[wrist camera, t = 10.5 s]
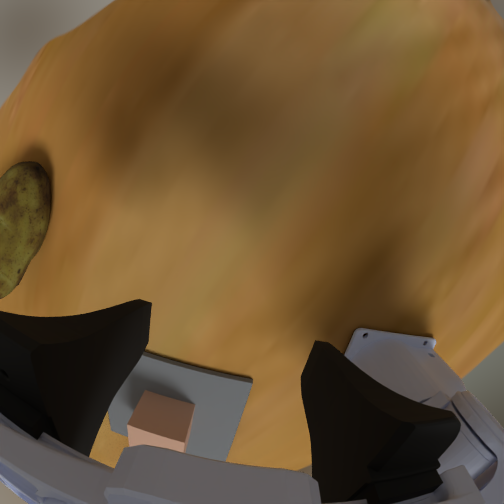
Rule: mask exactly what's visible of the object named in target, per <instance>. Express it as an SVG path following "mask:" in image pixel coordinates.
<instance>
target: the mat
mask: <svg viewBox="0 0 504 504" xmlns="http://www.w3.org/2000/svg"><path fill="white" fill-rule="evenodd" d="M252 384H253V379H249V378H243V377H238V376H234V375H229V374H224V373H220V372H216V371H211V370H207V369H203V368H199V367H195V366H191V365H188V364H184V363H180V362H177V361H173V360H170V359H166V358H163V357H160V356H157V355H153V354H150V353H147V352H143V354H142V356H141V358H140V360H139V361H138V363H137V364H136V366H135V367H134V369H133V370H132V372H131V373H130V374H129V376H128V377H127V379H126V380H125V382H124V383H123V384H122V386H121V387H120V389H119V390H118V392H117V393H116V395H115V397H114V398H113V400H112V402H111V405H110V407H109V409H108V413H109V419H110V426H111V430H112V431H114V432H116V433H119V434H121V435H124V436H127V437H128V429H127V423H128V421H129V420H130V418H131V416H132V414H133V412H134V410H135V408H136V406H137V404H138V402H139V400H140V398H141V397H142V395H143V393H144V391H145V390H147V391H150V392H153V393H156V394H160V395H163V396H166V397H169V398H173V399H176V400H180V401H184V402H187V403H191V404H195V409H194V415H193V421H192V426H191V432H190V437H189V440H188V444H187V448H186V452H185V453H187V454H191V455H195V456H199V457H204V458H209V459H214V460H219V461H224V462H225V461H226V458H227V455H228V453H229V450H230V447H231V444H232V442H233V439H234V436H235V433H236V431H237V428H238V425H239V422H240V419H241V416H242V413H243V410H244V407H245V405H246V402H247V399H248V396H249V393H250V390H251V387H252Z"/></svg>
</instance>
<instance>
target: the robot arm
mask: <svg viewBox="0 0 504 504" xmlns="http://www.w3.org/2000/svg"><path fill="white" fill-rule="evenodd" d="M151 306H152V303H151V302H147V301H144V300H141V299H137V300H133V301H129V302H126V303H123V304H119V305H116V306H113V307H110V308H106V309H102V310H98V311H94V312H90V313H86V314H80V315H73V316H62V317H35V316H25V315H18V314H13V313H8V312H3V311H0V481H1V482H2V483H3V484H5V485H6V486H7V487H8V488H10V490H12V491H13V492H14V493H15V494H17V495H18V496H19V497H20V498H22V499H23V500H24V501H25V502H27V503H28V504H504V429H503V427H502V426H501V425H500V424H499V422H497V420H496V419H495V418H494V417H493V415H492V414H491V413H490V412H489V411H488V410H487V409H486V408H485V406H484V405H483V404H482V403H481V402H480V401H479V400H478V399H477V398H476V397H475V396H474V395H473V394H472V393H471V392H469V391H466V389H465V385H464V383H463V382H462V380H461V379H460V377H459V376H458V375H457V374H456V373H455V372H454V371H453V370H452V369H451V368H450V367H449V366H448V365H447V364H446V363H445V362H444V360H443V359H442V358H441V357H440V356H439V355H438V354H437V353H436V352H435V351H434V350H433V348H434V346H435V344H436V340H435V339H434V338H430V337H422V336H414V335H406V334H399V333H391V332H385V331H378V330H371V329H365V328H358V329H356V330H355V331H354V333H353V336H352V338H351V341H350V343H349V345H348V348H347V350H346V352H345V354H344V355H343V354H342V353H341V352H340V351H339V350H337V349H336V348H335V347H334V346H332V345H331V344H330V343H328V342H322V341H316V340H315V342H314V345H313V348H312V350H311V353H310V355H309V358H308V360H307V363H306V365H305V367H304V370H303V372H302V375H301V393H302V400H303V404H304V409H305V414H306V419H307V423H308V428H309V433H310V440H311V454H312V477H311V476H310V475H308V474H306V473H304V472H298V471H293V470H288V469H282V468H269V467H259V466H251V465H243V464H237V463H230V462H224V461H219V460H214V459H209V458H204V457H199V456H195V455H191V454H187V453H183V452H179V451H175V450H172V449H168V448H162V447H157V446H151V445H146V444H144V445H137V446H132V447H126V448H124V449H123V452H122V454H121V456H120V458H119V460H118V462H117V464H116V467H115V469H114V468H112V467H109V466H107V465H105V464H102V463H100V462H98V461H96V460H94V459H92V458H89V455H90V452H91V449H92V446H93V444H94V441H95V438H96V436H97V433H98V431H99V428H100V426H101V424H102V422H103V419H104V417H105V415H106V413H107V411H108V409H109V407H110V405H111V402H112V400H113V398H114V397H115V395H116V393H117V392H118V390H119V389H120V387H121V386H122V384H123V383H124V382H125V380H126V379H127V377H128V376H129V374H130V373H131V372H132V370H133V369H134V367H135V366H136V364H137V363H138V361H139V360H140V358H141V356H142V354H143V352H144V350H145V348H146V346H147V344H148V342H149V328H150V317H151ZM365 333H367V334H366V335H365V336H363V334H365ZM424 342H425V343H424Z"/></svg>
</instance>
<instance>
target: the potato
mask: <svg viewBox="0 0 504 504" xmlns="http://www.w3.org/2000/svg"><path fill="white" fill-rule="evenodd" d="M49 217H50V182H49V178H48V176H47V174H46V172H45V170H44V169H43V167H42V166H41V165H40V164H39V163H37V162H21V163H18V164H16V165H14V166H12V167H11V168H10V169H9V170H8V171H7V172H6V173H5V174H4V175H3V176H2V177H1V178H0V299H2V298H4V297H5V296H7V295H8V294H9V293H10V292H12V291H13V289H14V288H15V287H16V286H17V285H19V283H20V281H21V279H22V277H23V276H24V273H25V272H26V269H27V267H28V265H29V263H30V261H31V260H32V259H33V257H34V256H35V255H36V254H37V252H38V251H39V249H40V248H41V245H42V243H43V240H44V237H45V234H46V231H47V228H48V223H49Z"/></svg>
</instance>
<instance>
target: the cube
mask: <svg viewBox="0 0 504 504" xmlns="http://www.w3.org/2000/svg"><path fill="white" fill-rule="evenodd" d="M194 409H195V404H191V403H187V402H184V401H180V400H176V399H173V398H169V397H166V396H163V395H160V394H156V393H153V392H150V391H147V390H145V391H144V393H143V395H142V397H141V398H140V400H139V402H138V404H137V406H136V408H135V410H134V412H133V414H132V416H131V418H130V420H129V421H128V423H127V429H128V439H129V447H132V446H137V445H144V444H146V445H151V446H157V447H162V448H168V449H172V450H175V451H179V452H183V453H185V452H186V448H187V444H188V440H189V437H190V432H191V426H192V421H193V415H194Z"/></svg>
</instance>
